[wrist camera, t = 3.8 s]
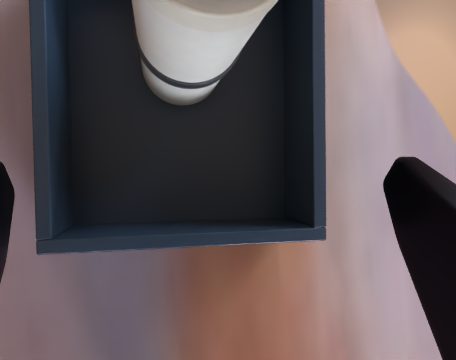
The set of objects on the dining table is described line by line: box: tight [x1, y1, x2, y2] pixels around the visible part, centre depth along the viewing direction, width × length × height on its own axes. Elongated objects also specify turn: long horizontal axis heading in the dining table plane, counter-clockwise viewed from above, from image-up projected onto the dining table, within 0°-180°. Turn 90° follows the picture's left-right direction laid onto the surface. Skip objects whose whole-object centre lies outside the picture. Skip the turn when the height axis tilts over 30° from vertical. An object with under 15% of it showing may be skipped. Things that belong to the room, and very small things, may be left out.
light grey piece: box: [132, 0, 278, 105], centre depth 14 cm, size 4×4×12 cm
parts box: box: [29, 0, 326, 255], centre depth 18 cm, size 13×12×5 cm
